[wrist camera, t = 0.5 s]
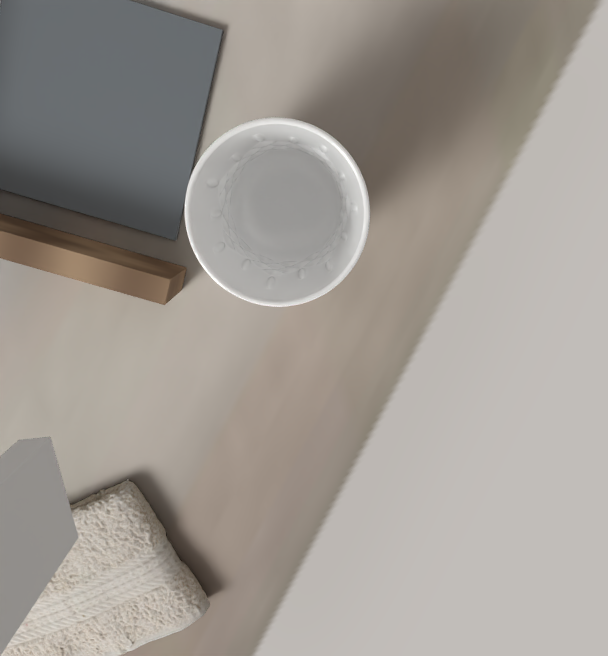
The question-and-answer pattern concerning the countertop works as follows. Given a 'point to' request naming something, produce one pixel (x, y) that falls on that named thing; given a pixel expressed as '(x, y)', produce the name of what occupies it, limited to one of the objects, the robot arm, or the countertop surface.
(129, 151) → the mat
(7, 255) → the corner walls
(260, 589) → the countertop surface
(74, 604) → the washcloth
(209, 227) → the white cup
